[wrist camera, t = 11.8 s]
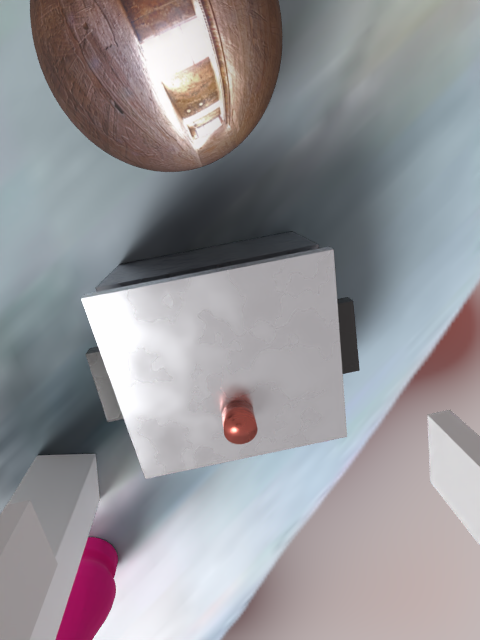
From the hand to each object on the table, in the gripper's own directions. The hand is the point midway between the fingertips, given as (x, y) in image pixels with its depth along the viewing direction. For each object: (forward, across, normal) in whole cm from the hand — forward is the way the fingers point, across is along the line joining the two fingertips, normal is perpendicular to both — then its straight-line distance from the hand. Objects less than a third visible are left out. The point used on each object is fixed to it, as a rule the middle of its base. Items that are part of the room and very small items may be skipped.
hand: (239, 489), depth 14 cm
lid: (+17, 0, -3) cm, 17 cm away
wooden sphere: (+27, 0, +18) cm, 33 cm away
